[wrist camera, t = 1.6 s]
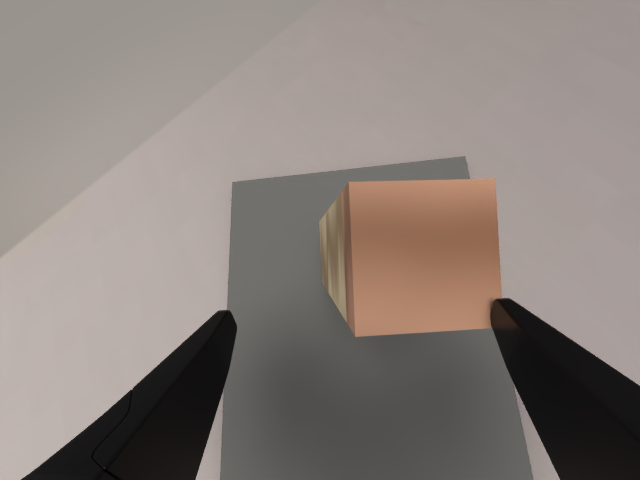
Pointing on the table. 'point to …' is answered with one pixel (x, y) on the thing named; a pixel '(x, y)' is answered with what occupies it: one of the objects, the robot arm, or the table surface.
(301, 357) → the rubber mat
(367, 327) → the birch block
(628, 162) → the table surface
